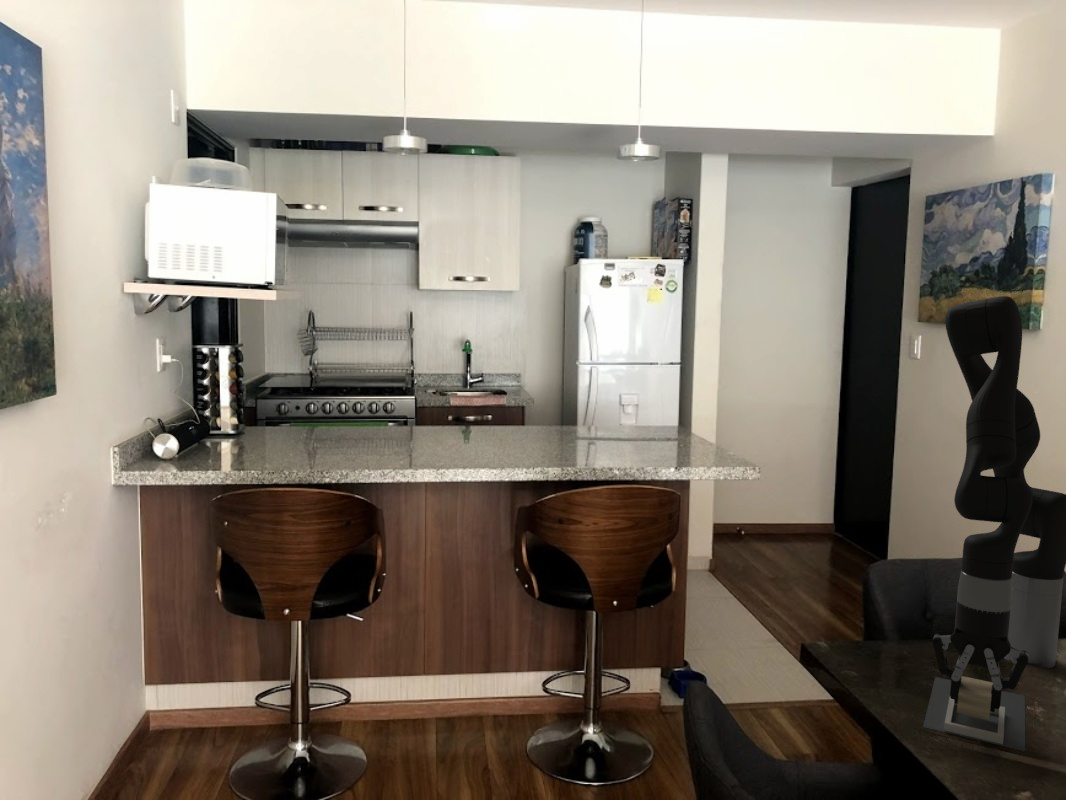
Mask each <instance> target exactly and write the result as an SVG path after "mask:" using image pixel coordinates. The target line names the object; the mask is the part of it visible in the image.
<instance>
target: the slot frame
mask: <svg viewBox="0 0 1066 800" xmlns="http://www.w3.org/2000/svg"><path fill="white" fill-rule="evenodd" d="M954 705H956V706H957V705H958V704H956V703H954V699H951V697H950V698H949V703H948V708H947V713H946V718H945V724H944V731H949V732H953V733H957V734H961V735H966V736H970V737H974V738H978V739H983V740H987V741H991V742H995V743H999V744H1003V738H1004V717H1005V707H1002V706H1000V708H999V709H995V712H991V711H990V713H992V714H997V715H999V718H998V733H995V732H990V731H986V730H982V729H977V728H973V727H969V726H964V725H960V724H956V723H952V722H951V721H952V716H953V710H954Z"/></svg>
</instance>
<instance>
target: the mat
mask: <svg viewBox="0 0 1066 800" xmlns="http://www.w3.org/2000/svg"><path fill="white" fill-rule="evenodd" d="M950 689H951V679H948V678H947V679H946V678H942V677H937V676H935V677H934V682H933V684H932V689H931V692H930V696H929V697H930V698H929V701H928V705H927V708H926V709H927V710H926V713H925V717H924V722H923V726H922V727H923V728H925V729H930V730H932V731H933V730H934V731H939V732H942V733H947V734H950V735H955V736H959V737H963V738H967V739H972V740H977V741H981V742H984V743H990V744H993V745H997V746H1002V747H1006V748H1010V749H1014V750H1017V751H1024V752H1026V695H1023V694H1018V693H1013V692H1010V691H1009V692H1008V691H1004V690H1002V692H1001V702H1000V706H1002V707H1005V717H1004V738H1003V744H999V743H995V742H991V741H987V740H983V739H978V738H974V737H970V736H966V735H961V734H957V733H953V732H949V731H944V724H945V718H946V713H947V708H948V703H949V698H950ZM998 718H999V715H997V714H992V713H990V717H989V720H988V719H983V718H979V717H975V716H970V715H966V714H962V713H957V706H956V705H954V710H953V716H952V721H951V722H952V723H956V724H960V725H964V726H969V727H973V728H977V729H982V730H986V731H990V732H995V733H998ZM922 732H923V733H926V734H929V735H930V734H932V735H934V736H940V737H944V738H948V739H952V740H956V741H960V742H964V743H968V744H973V745H977V746H980V747H984V748H985V747H986V748H990V749H993V750H998V751H1002V752H1006V753H1010V754H1014V755H1019V756H1023V757H1025V755H1023V754H1020V753H1015V752H1010V751H1006V750H1003V749H999V748H995V747H990V746H988V745H987V746H986V745H981V744H977V743H974V742H969V741H965V740H961V739H957V738H953V737H948V736H944V735H940V734H936V733H932V732H929V731H922Z"/></svg>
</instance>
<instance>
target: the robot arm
mask: <svg viewBox="0 0 1066 800" xmlns="http://www.w3.org/2000/svg"><path fill="white" fill-rule="evenodd" d="M944 320H945V321H944V324H945V330H946V335H947V338H948V342H949V344H950V347H951V350H952V352H953V355H954V357H955V359H956V361H957V364H958V365H959V366H958V367H959V369H960V371H961V373H962V375H963V376H962V377H963V379H964V380H965V383H966V386H967V388H968V392H969V395H970V398H971V403H970V405H969V408H968V410H967V413H966V420H965V422H966V423H965V435H966V437H965V439H966V440H965V441H966V442H965V443H966V449H965V450H966V451H965V452H966V453H965V460H964V463H963V464H964V465H963V469H962V472H961V475H960V478H959V481H958V484H957V487H956V489H955V494H954V501H953V502H954V506H955V509H956V511H957V513H958V514H959V515H960V516H961V517H963V518H964V519H966V520H971V521H977V522H978V521H979V522H980V521H981V522H989V523H991V522H992V523H1000V524H999V526H998V527H997V528H996V529H995V530H993V531H989V532H984V533H983V532H982V533H973V534H970V535H968V536H967V537H966V538H965V539H964V540H963V547H962V548H963V549H962V558H961V571H960V576H959V580H958V583H957V585H958V586H957V592H956V593H957V594H956V595H957V596H956V597H957V599H956V609H955V621H954V629H953V631H952V632H951V633H950V634H946V635H941V633H935V634H934V635H933V638H932V645H933V650H934V654H935V659H936V662H937V666H938V671H939V673H940V675H943V676H947V677H948V678H950V679H949V680H951V689H950V697H951V699H954V703H956V704H958V694H959V688H960V686H961V679H962V676H963V673H964V671H965V670H966V668H967V666H968V665H972V666H974V665H975V666H977V665H978V666H980V667H983V668H987V669H988V672H989V676H990V678H991V682H992V683H993V685H992V689H991V694H992V696H991V707H990V711H991V712H995V709H999V708H1000V702H1001V692H1002V691H1004V690H1005V689H1008V690H1015V689H1016V687H1017V686H1018V683H1019V681H1020V679H1021V677H1022V674H1023V672H1024V670H1025V668H1026V666H1027V664H1029V665H1033V666H1038V667H1043V668H1049V669H1052V668H1054V667H1055V666H1056V660H1057V652H1058V651H1057V650H1058V640H1059V630H1060V629H1059V628H1060V618H1061V606H1062V599H1063V598H1062V597H1063V596H1062V595H1063V587H1064V576H1065V568H1066V493H1064V492H1058V491H1054V490H1047V489H1042V488H1036V487H1032V486H1030V485H1029V484H1028V483H1027V480H1026V477H1025V469H1026V466H1027V464H1028V462H1029V461H1030V459H1031V458H1032V457H1033V455H1034V454H1035V452H1036V451H1037V449H1038V447H1039V444H1040V441H1041V430H1040V426H1039V422H1038V419H1037V414H1036V412H1035V411H1036V410H1035V408H1034V405H1033V403H1032V402H1031V400H1030V399H1029V398H1028V397H1027V396H1026V395H1025V394H1024V393H1023V392H1022V391H1020V389H1018V382H1019V376H1020V375H1019V373H1020V365H1021V357H1022V356H1021V355H1022V345H1023V325H1022V323H1023V322H1022V316H1021V312H1020V309H1019V306H1018V304H1017V303H1016V301H1015V300H1014V299H1013V298H1012V297H1010V296H1007V295H1006V296H1005V295H1003V296H995V297H990V298H984V299H983V298H982V299H978V300H973V301H967V302H962V303H958V304H954V305H951V306H950V307H949V308H948V309H947V311H946V313H945V319H944ZM993 353H997V355H996V360H995V363H994V365H993V368H991V367H990V366H989V364H988V363H987V361H986V360H985V359H984V358H985V357H983V355H984V354H985V355H987V354H993ZM988 470H992V472H993V475H994V476H991V475H982V472H985V471H988ZM1020 535H1024V536H1027V537H1032V538H1036V539H1039V544H1038V547H1037V548H1036V549H1034V550H1027V551H1026V550H1025V551H1017V552H1015V550H1016V546H1017V544H1018V541H1019V537H1020ZM950 643H951V644H952V645H953V647H954V649H955V650H956V652H957V654H958V655H959V656H958V658H957V661H956V663H955V665H954V667H952V666H951V665H949V662H948V657H947V656H948V655H947V653H946V650H948V648H949V644H950ZM1003 659H1004V660H1006V661H1011V662H1012V664H1013V665H1012V667H1011V670H1010V672H1009V674H1008V676H1007V677H1002V674H1001V670H1000V668H1001V667H1000V665H999V662H1001V661H1002V660H1003Z"/></svg>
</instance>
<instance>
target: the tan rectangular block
mask: <svg viewBox="0 0 1066 800" xmlns="http://www.w3.org/2000/svg"><path fill="white" fill-rule="evenodd" d="M961 678H962V679H961V686H960V688H959V694H958V705H957V713H962V714H966V715H970V716H975V717H979V718H983V719H988V720H989V717H990V707H991V696H992V694H991V689H992V685H993V682H992V681H987V680H982V679H977V678H972V677H968V676H963V675H961Z"/></svg>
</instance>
